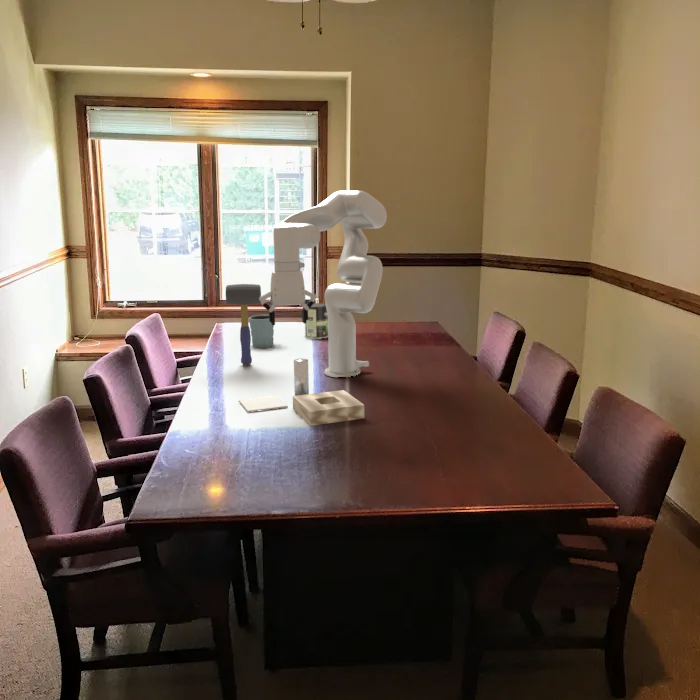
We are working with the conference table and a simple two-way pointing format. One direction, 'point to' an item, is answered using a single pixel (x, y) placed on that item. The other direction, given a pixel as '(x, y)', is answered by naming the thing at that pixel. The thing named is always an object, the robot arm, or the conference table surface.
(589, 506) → the conference table surface
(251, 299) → the rubber mallet
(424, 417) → the conference table surface
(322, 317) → the coffee can
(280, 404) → the mat
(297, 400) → the socket block
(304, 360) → the steel cylinder
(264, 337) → the teal cup
